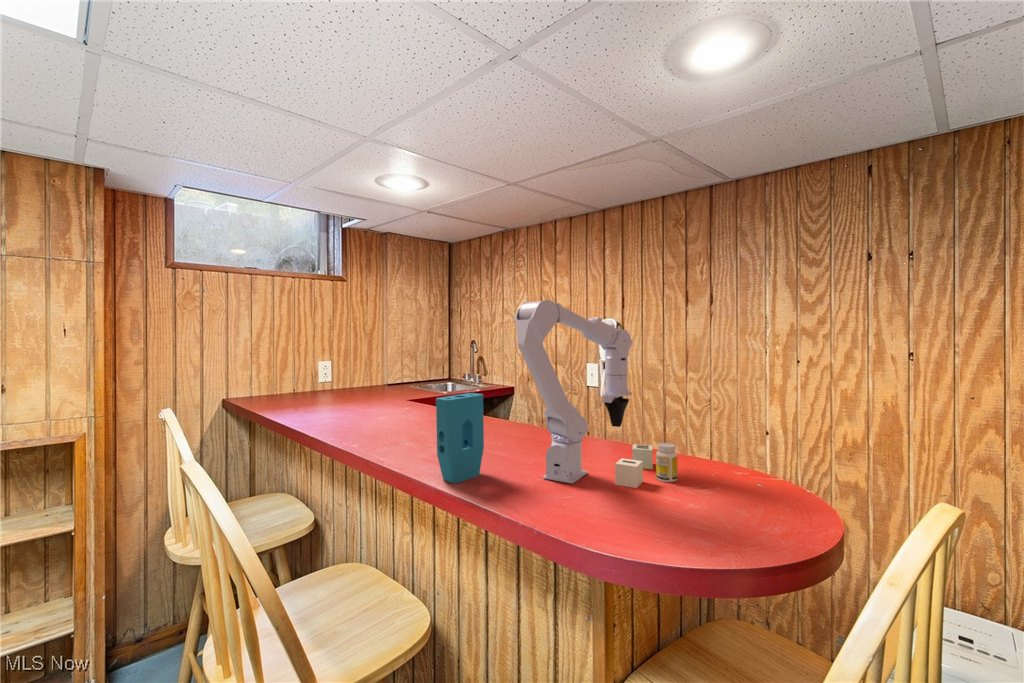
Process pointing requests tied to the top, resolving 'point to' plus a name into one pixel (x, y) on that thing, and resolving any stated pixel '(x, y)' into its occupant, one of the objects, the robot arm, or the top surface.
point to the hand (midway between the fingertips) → (616, 426)
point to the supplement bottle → (666, 462)
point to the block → (460, 436)
